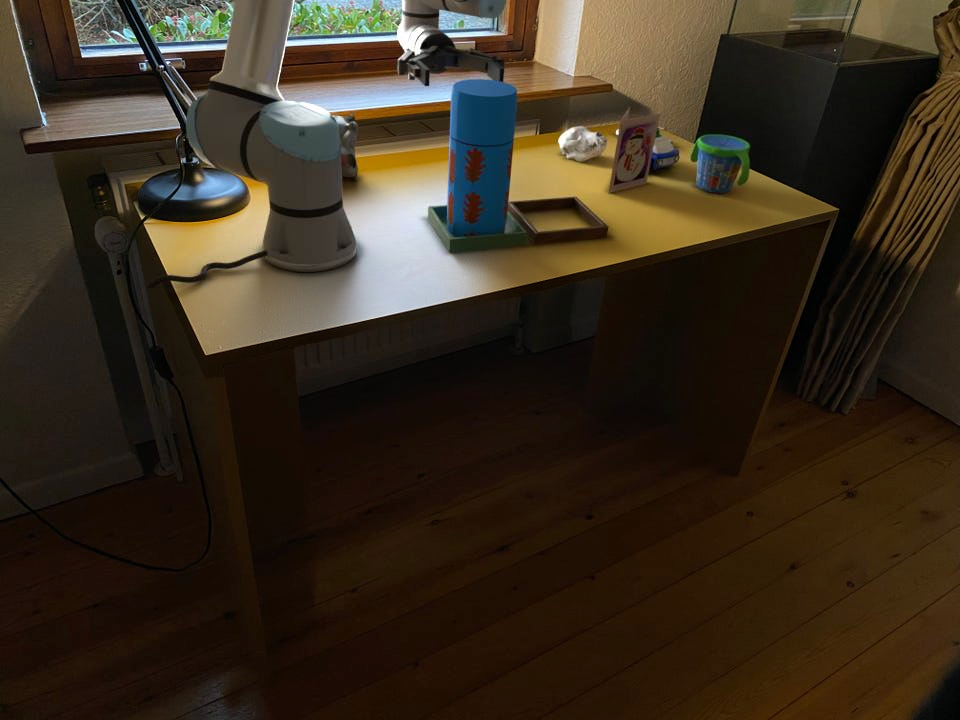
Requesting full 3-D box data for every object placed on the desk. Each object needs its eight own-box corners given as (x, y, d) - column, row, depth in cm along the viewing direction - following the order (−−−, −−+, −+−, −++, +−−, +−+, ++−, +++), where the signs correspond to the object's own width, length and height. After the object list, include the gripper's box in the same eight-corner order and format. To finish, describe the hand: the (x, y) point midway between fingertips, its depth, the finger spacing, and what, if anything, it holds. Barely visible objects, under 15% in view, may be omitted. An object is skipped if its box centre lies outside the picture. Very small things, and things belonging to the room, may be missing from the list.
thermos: (499, 245, 129) (511, 100, 114) (440, 237, 130) (444, 92, 116) (510, 221, 137) (522, 83, 123) (454, 213, 139) (460, 76, 125)
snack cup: (672, 176, 164) (682, 131, 158) (712, 173, 167) (723, 128, 161) (713, 204, 152) (725, 156, 146) (755, 199, 155) (769, 152, 149)
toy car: (654, 177, 162) (663, 135, 157) (613, 161, 170) (620, 120, 164) (680, 170, 167) (689, 128, 162) (639, 154, 175) (647, 114, 169)
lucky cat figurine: (278, 174, 150) (285, 105, 149) (327, 185, 159) (333, 120, 158) (322, 174, 141) (330, 99, 139) (371, 185, 150) (378, 116, 148)
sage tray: (449, 252, 126) (449, 239, 125) (427, 218, 137) (428, 206, 136) (525, 245, 131) (527, 232, 129) (499, 213, 141) (500, 200, 140)
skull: (569, 135, 175) (604, 110, 165) (583, 170, 175) (618, 146, 165) (546, 138, 170) (581, 112, 161) (560, 174, 170) (596, 150, 160)
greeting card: (611, 194, 153) (623, 122, 144) (587, 182, 158) (597, 111, 149) (649, 184, 159) (663, 114, 150) (624, 173, 163) (636, 105, 155)
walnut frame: (534, 244, 131) (536, 233, 130) (507, 212, 142) (508, 201, 141) (607, 237, 135) (609, 226, 134) (574, 206, 146) (576, 196, 145)
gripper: (491, 69, 150) (529, 97, 134) (370, 70, 143) (394, 101, 126) (493, 29, 146) (533, 54, 129) (369, 28, 138) (394, 55, 122)
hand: (465, 77), depth 128 cm, fingers open, 13 cm apart
